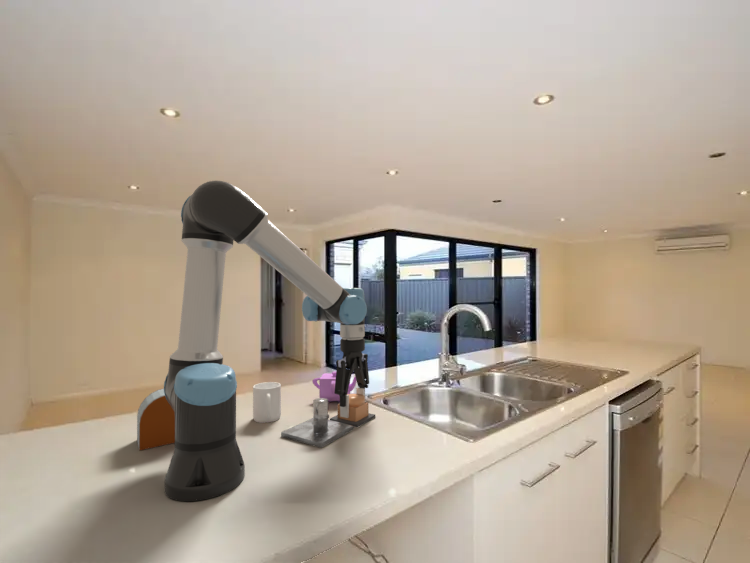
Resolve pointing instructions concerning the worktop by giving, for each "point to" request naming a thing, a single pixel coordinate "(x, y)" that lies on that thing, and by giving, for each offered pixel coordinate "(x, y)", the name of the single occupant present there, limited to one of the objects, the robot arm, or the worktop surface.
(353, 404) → the cap
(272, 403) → the cup
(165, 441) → the orange rounded block
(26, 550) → the worktop surface
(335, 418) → the pad
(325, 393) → the teapot
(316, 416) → the post fixture
